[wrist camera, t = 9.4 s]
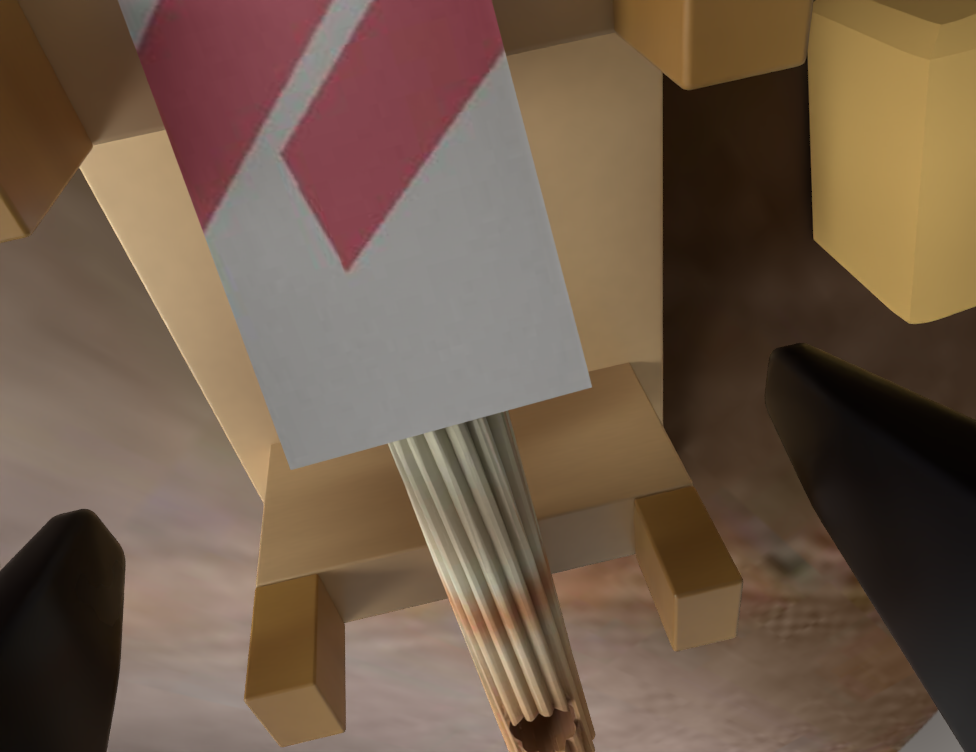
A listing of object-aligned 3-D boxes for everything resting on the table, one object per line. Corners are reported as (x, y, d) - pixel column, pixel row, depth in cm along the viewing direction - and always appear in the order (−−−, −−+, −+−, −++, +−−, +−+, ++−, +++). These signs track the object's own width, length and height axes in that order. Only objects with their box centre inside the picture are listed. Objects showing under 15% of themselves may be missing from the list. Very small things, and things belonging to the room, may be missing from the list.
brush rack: (630, -572, 9) (1140, -1219, 3) (649, 474, 21) (763, 719, 15) (-193, -413, 8) (-1195, -820, 3) (310, 553, 21) (300, 832, 15)
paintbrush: (322, -1330, 3) (655, 787, 15) (334, -822, 5) (614, 668, 17) (-521, -1120, 3) (471, 838, 15) (-159, -697, 5) (455, 711, 17)
